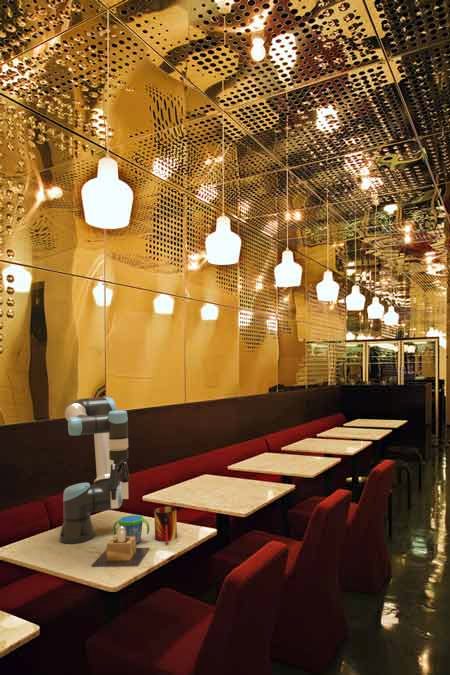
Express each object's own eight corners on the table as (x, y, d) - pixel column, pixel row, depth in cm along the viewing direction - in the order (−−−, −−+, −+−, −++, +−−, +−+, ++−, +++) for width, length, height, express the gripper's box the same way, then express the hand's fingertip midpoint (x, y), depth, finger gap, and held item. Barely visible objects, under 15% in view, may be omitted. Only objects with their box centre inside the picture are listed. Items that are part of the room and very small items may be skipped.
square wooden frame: (114, 552, 190) (114, 536, 191) (136, 551, 189) (135, 536, 190) (107, 560, 181) (106, 544, 182) (129, 560, 181) (129, 544, 181)
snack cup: (109, 546, 199) (108, 521, 200) (120, 538, 209) (119, 514, 210) (143, 547, 195) (143, 522, 196) (153, 538, 206) (152, 515, 207)
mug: (166, 545, 196) (165, 516, 197) (151, 537, 207) (150, 509, 209) (186, 540, 202) (185, 511, 203) (170, 532, 213) (169, 505, 214)
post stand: (107, 549, 195) (106, 519, 196) (149, 548, 193) (149, 518, 195) (91, 566, 177) (90, 533, 178) (138, 566, 176) (137, 532, 177)
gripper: (119, 444, 202) (120, 495, 200) (98, 454, 177) (100, 512, 175) (136, 444, 201) (137, 495, 200) (118, 454, 177) (119, 511, 175)
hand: (119, 503), depth 187 cm, fingers open, 13 cm apart
